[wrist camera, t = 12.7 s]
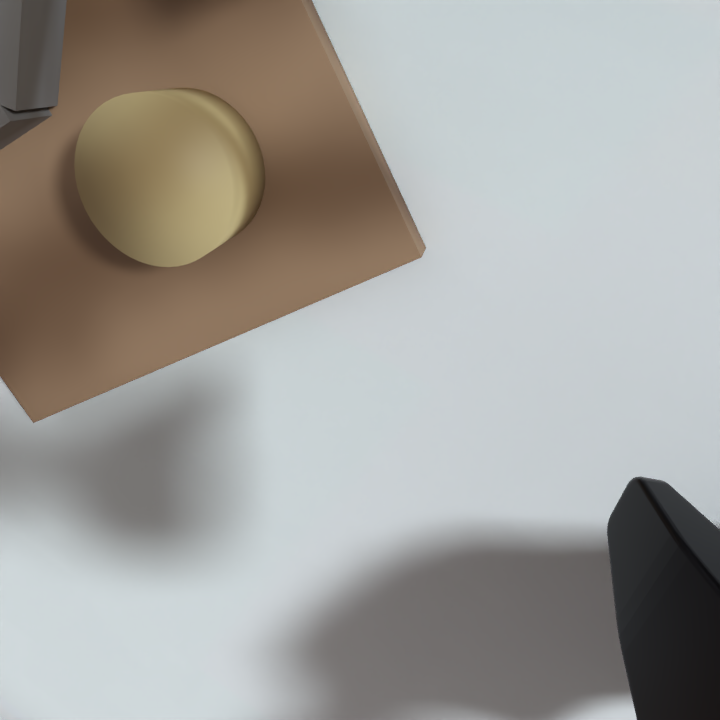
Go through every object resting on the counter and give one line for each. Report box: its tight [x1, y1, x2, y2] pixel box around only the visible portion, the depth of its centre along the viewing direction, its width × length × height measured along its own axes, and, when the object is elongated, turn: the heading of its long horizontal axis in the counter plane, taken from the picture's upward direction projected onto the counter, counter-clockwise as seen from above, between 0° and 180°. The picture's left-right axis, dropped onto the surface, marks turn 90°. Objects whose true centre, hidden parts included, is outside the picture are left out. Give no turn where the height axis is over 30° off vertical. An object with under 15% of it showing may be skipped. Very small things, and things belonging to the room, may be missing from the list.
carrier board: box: [0, 0, 426, 423], centre depth 18 cm, size 20×16×3 cm
